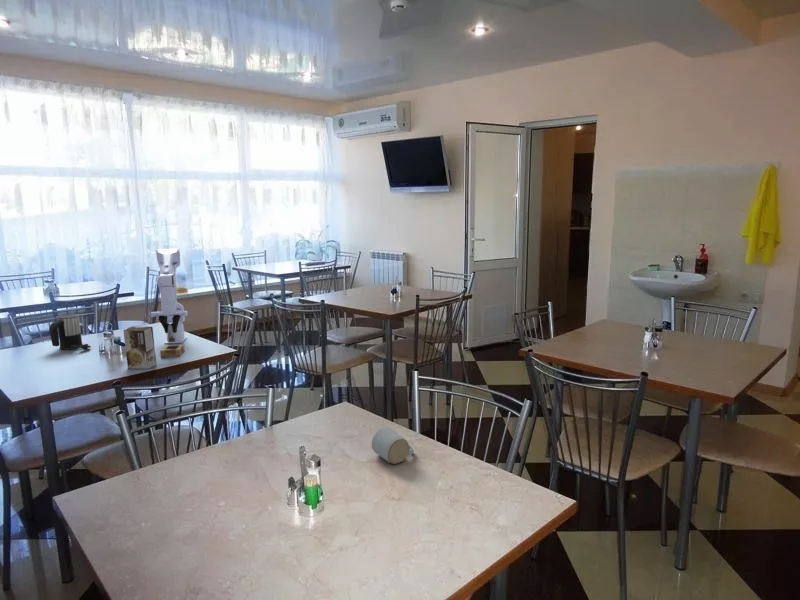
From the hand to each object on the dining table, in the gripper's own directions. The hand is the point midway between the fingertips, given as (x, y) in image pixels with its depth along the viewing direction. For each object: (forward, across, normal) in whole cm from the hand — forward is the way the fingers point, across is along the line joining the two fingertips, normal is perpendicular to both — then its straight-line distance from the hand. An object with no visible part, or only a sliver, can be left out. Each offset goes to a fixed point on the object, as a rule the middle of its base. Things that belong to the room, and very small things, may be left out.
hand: (171, 332), depth 231 cm
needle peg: (+4, 0, 0) cm, 4 cm away
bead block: (+10, 0, 0) cm, 10 cm away
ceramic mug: (+10, +83, -107) cm, 136 cm away
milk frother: (+10, -46, +16) cm, 50 cm away
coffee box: (+10, -8, -16) cm, 20 cm away
